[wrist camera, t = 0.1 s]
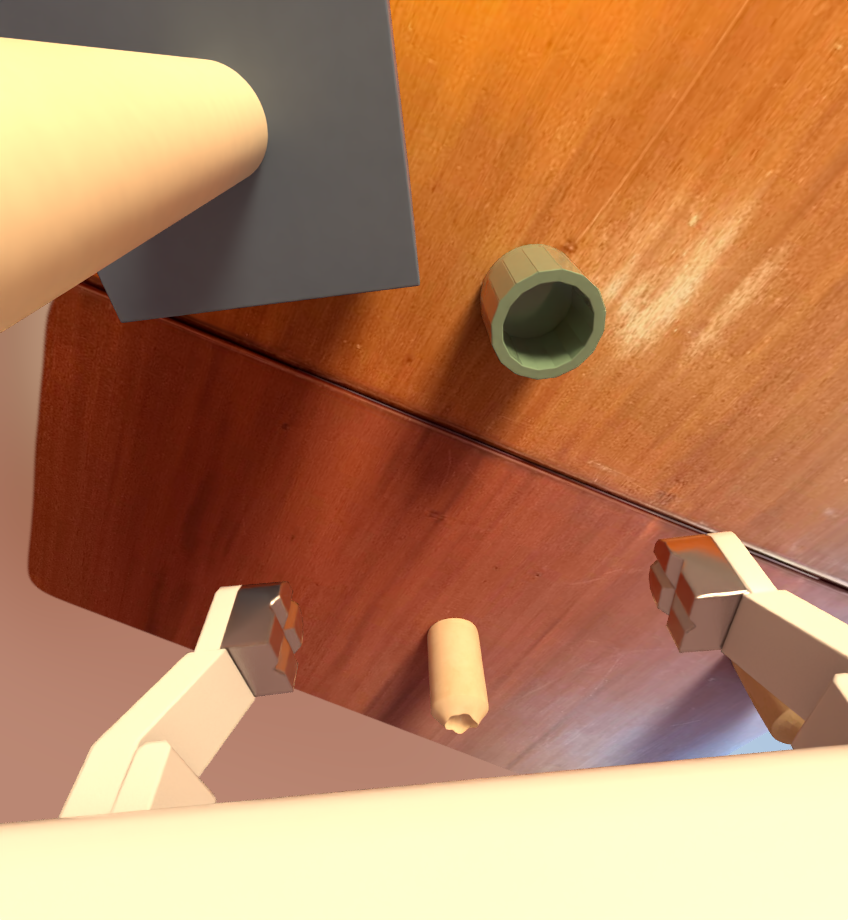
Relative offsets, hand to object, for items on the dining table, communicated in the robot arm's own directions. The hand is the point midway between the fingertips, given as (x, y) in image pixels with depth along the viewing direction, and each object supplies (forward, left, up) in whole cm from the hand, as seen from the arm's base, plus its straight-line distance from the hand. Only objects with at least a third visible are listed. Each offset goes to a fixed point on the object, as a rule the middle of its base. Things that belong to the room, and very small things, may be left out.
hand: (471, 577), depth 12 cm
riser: (-9, -5, -26) cm, 28 cm away
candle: (+39, -1, -26) cm, 47 cm away
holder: (+3, +7, -26) cm, 27 cm away
